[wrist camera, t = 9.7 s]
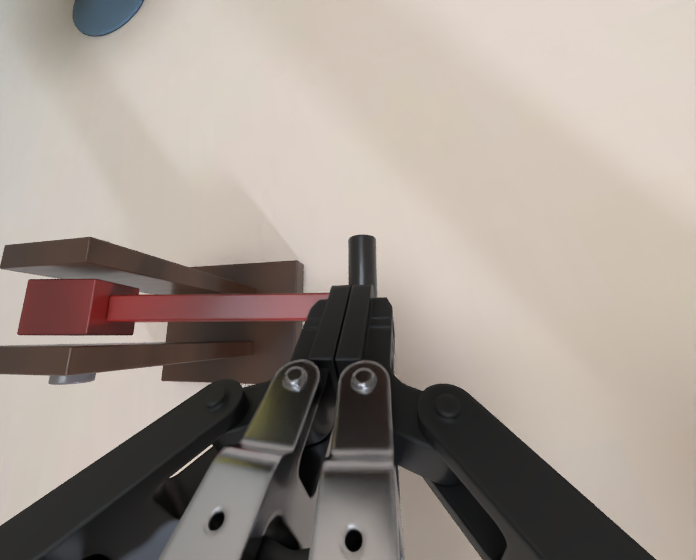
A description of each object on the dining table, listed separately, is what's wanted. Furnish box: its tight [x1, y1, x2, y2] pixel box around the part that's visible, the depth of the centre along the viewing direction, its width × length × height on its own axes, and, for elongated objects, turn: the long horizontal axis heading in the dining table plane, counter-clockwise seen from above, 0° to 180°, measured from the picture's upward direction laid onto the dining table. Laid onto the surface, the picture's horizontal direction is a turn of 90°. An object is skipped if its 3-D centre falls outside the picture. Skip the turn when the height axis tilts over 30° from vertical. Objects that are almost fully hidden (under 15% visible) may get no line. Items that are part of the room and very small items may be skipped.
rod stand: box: [0, 237, 303, 385], centre depth 17 cm, size 11×9×13 cm
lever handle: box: [17, 235, 377, 336], centre depth 12 cm, size 14×6×2 cm, turn 90°
